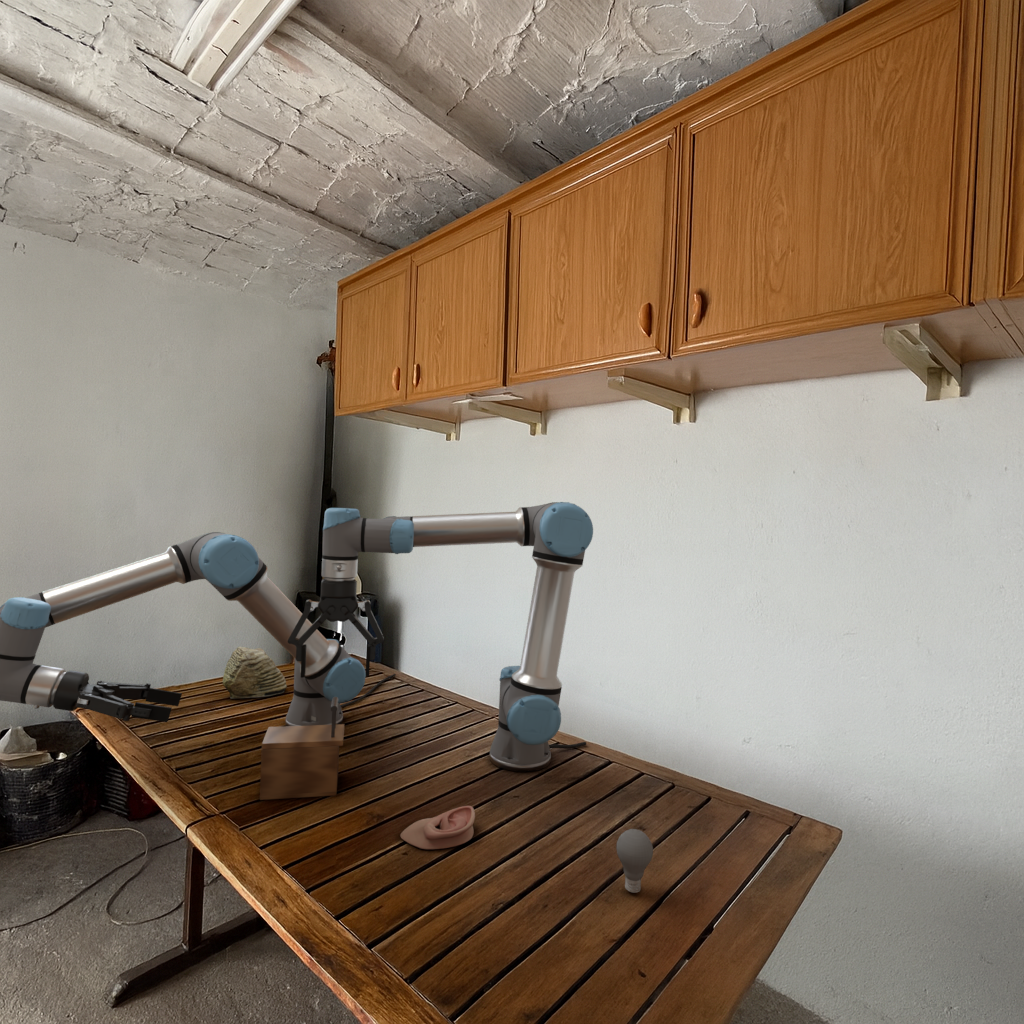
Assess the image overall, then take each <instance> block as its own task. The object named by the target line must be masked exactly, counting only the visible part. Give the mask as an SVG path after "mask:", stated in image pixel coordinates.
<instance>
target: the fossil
mask: <svg viewBox="0 0 1024 1024" xmlns="http://www.w3.org/2000/svg"><path fill="white" fill-rule="evenodd" d="M222 676H223V677H222V685H223V687H224V688H225V690H226V691H228V693H229V698H230V699H250V698H264V697H271V696H275V695H281V694H284V693H285V691H286V689H287V687H288V686H287V680H286V678H285V676H284V674H283V673H282V672H281V669H279V668H278V667H277V665H276V663H275V662H274V660H273V659H272V658H271V657H270V656H269V655H268V654H267V653H266V652H265V650H264V649H263V648H260V647H258V648H251V647H247V646H246V647H245V646H238V647H237V648H236V649H235V650H233V651H232V653H231V656H230V657H229V659H228V660H227V663H226V666H225V668H224V671H223V675H222Z"/></svg>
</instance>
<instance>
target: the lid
mask: <svg viewBox="0 0 1024 1024" xmlns="http://www.w3.org/2000/svg"><path fill="white" fill-rule="evenodd" d="M337 707H338V698H337V697H333V698H332V703H331V711H332V725H309V726H286V725H285V726H284V725H283V726H268V727H267V730H266V732H265V735H264V737H263V740H262V742H261V750H262V749H277V748H300V747H323V746H339V747H341V746H344V736H345V723H341V724H337V725H336V711H337Z"/></svg>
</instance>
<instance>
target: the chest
mask: <svg viewBox="0 0 1024 1024" xmlns="http://www.w3.org/2000/svg"><path fill="white" fill-rule="evenodd" d="M260 756H261V757H260V778H259V779H260V781H259V783H260V784H259V800H260V801H264V800H266V801H267V800H279V799H280V800H281V799H298V798H300V799H301V798H314V797H317V798H318V797H331V796H332V797H333V796H337V792H338V781H339V761H340V746H323V747H300V748H277V749H262V748H261V755H260Z"/></svg>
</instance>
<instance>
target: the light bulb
mask: <svg viewBox="0 0 1024 1024" xmlns="http://www.w3.org/2000/svg"><path fill="white" fill-rule="evenodd" d="M615 849H616V854H617V857H618V859H619V861H620V863H621V865H622V867H623V873H624V874H623V875H624V876H625V878H624V888H625V890H627V891H628V892H630V893H634V894H635V893H639V892H640V891H641V889H642V887H641V886H642V879H643V877H644V875H645V871H646V868H647V867H648V866H649V864H650V863H651V861H652V859H653V855H654V847H653V843H652V841H651V838H649V836H648V835H647V834H646V833H645V832H643V831H642V830H641V829H636V828H629V829H627V830H625V831H623V832H622V833H621V834H620V835H619V837H618V839H617V841H616V847H615Z"/></svg>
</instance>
